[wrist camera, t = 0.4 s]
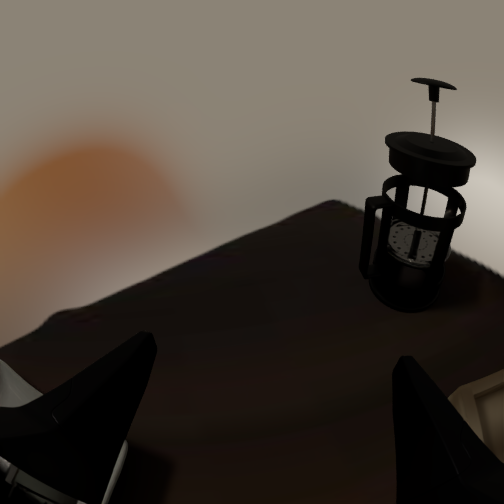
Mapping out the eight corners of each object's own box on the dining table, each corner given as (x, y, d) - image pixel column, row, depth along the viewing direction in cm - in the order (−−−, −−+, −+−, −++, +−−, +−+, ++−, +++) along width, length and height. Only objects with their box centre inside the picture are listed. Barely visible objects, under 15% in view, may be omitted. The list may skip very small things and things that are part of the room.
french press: (421, 251, 33) (443, 79, 19) (455, 300, 26) (508, 100, 12) (345, 266, 34) (346, 69, 19) (371, 325, 26) (402, 78, 12)
